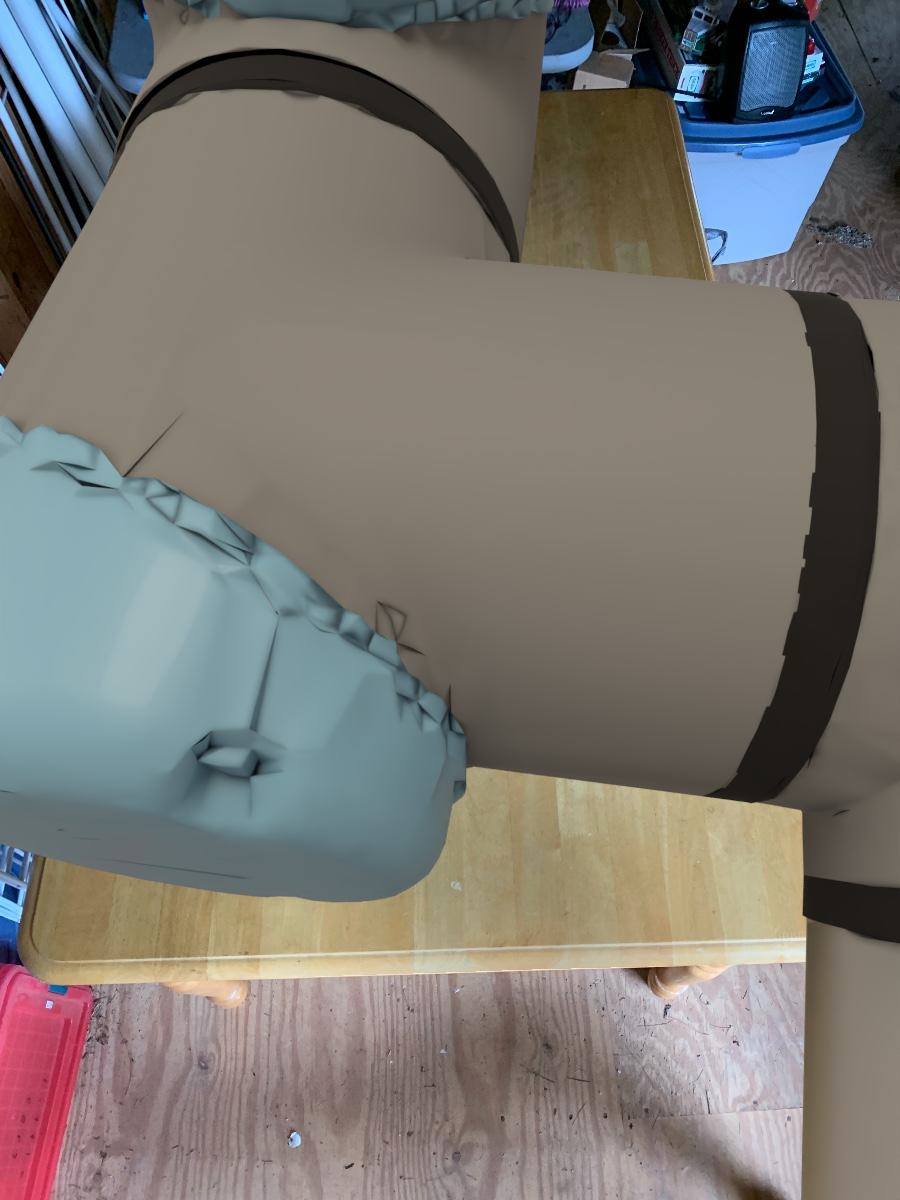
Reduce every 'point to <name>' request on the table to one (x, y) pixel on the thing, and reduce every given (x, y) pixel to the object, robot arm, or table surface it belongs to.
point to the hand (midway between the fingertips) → (415, 673)
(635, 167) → the table surface
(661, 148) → the table surface
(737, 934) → the table surface
